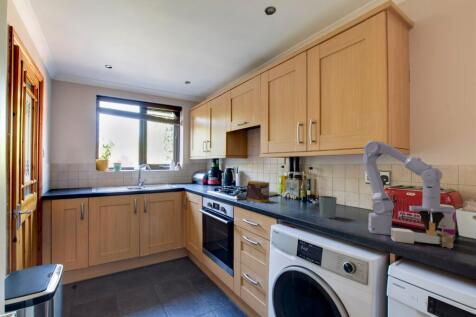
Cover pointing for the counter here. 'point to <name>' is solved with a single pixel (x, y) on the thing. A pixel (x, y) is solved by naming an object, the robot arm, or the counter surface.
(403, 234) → the white rectangular block
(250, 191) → the supplement box
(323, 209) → the grey tapered cup
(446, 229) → the supplement can
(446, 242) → the oak socket
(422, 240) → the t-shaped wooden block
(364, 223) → the counter surface
